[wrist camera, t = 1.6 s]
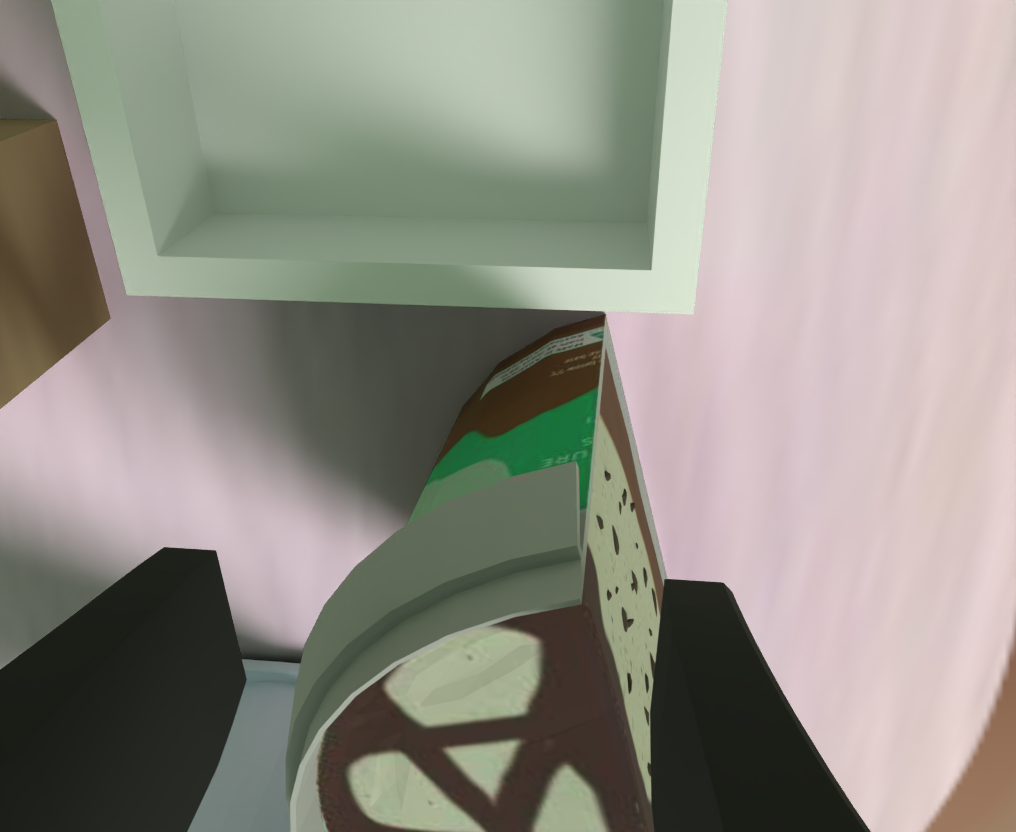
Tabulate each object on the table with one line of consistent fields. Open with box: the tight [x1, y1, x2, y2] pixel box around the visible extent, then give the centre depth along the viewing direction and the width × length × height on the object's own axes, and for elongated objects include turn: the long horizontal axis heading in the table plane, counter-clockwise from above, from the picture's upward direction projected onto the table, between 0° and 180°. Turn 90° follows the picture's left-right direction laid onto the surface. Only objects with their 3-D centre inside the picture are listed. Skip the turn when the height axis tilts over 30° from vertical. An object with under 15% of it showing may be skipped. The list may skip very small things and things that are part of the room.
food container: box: [285, 314, 667, 832], centre depth 17 cm, size 12×6×10 cm, turn 15°
